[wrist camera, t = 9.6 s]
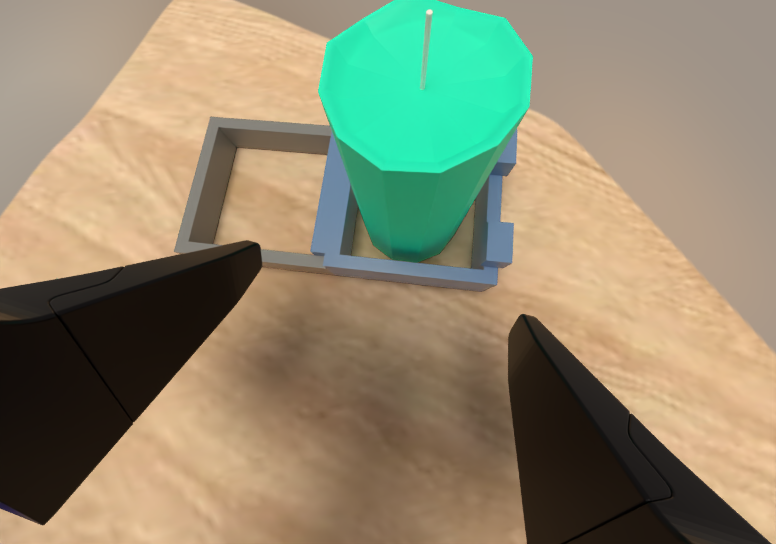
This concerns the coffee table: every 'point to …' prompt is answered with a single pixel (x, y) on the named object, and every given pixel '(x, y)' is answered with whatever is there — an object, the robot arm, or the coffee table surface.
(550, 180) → the coffee table surface
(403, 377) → the coffee table surface
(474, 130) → the candle
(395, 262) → the frame
